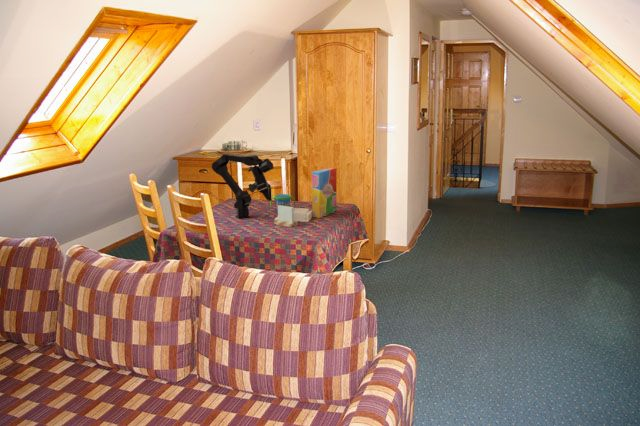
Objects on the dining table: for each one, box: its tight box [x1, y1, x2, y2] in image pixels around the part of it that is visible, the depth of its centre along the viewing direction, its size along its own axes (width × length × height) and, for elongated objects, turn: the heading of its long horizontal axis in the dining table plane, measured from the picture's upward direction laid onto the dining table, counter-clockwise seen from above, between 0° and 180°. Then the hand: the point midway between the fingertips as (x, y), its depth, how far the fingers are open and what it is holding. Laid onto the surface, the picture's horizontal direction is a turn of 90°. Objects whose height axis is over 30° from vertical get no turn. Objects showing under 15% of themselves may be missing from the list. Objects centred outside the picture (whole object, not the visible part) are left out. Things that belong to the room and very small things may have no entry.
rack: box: [274, 207, 313, 223], centre depth 336 cm, size 20×12×5 cm, turn 80°
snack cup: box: [269, 193, 296, 213], centre depth 354 cm, size 16×10×10 cm
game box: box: [311, 167, 338, 219], centre depth 344 cm, size 21×6×27 cm, turn 149°
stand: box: [273, 220, 299, 228], centre depth 323 cm, size 12×6×2 cm, turn 55°
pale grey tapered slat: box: [277, 205, 295, 225], centre depth 322 cm, size 10×2×10 cm, turn 55°
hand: (269, 200), depth 330 cm, fingers open, 9 cm apart
